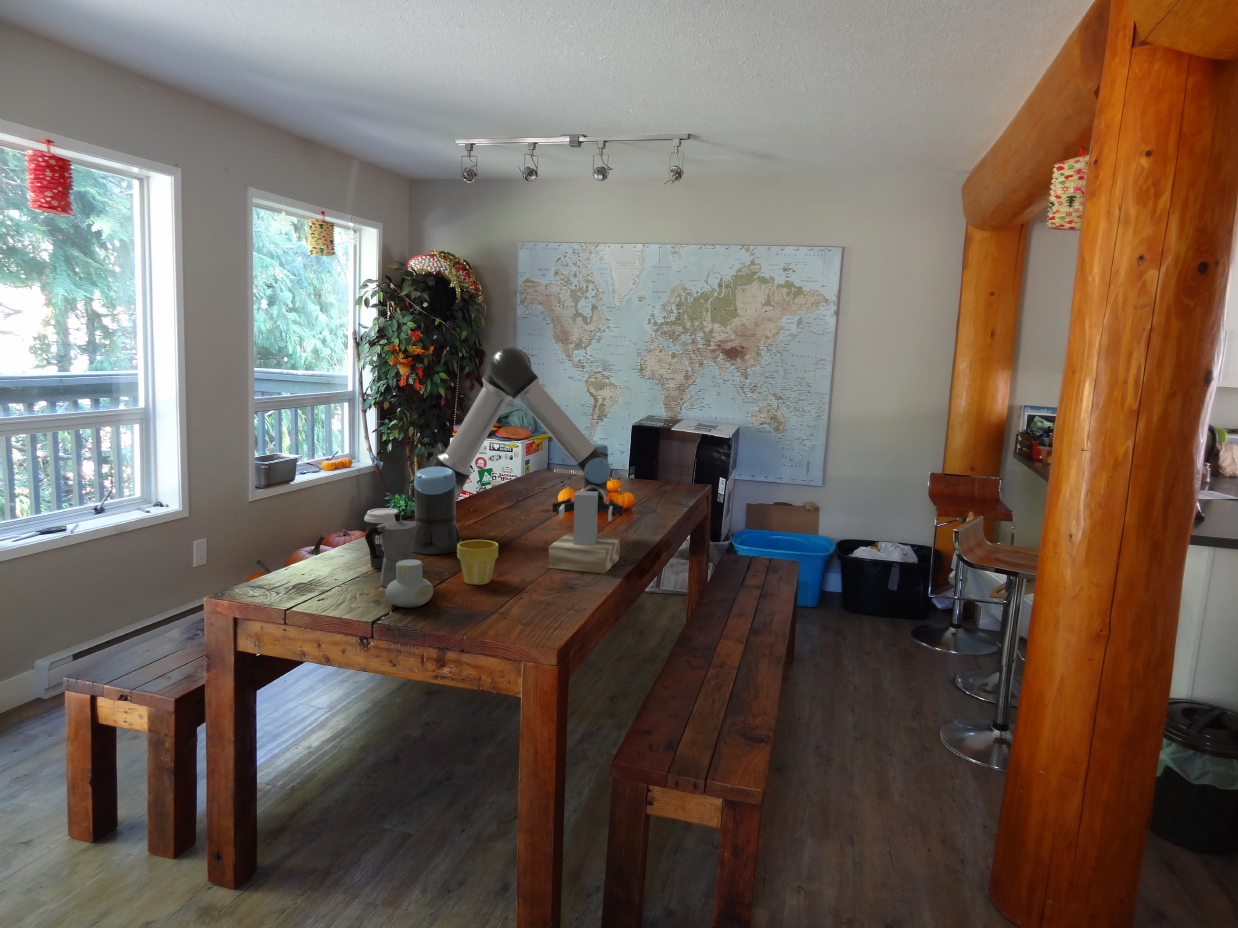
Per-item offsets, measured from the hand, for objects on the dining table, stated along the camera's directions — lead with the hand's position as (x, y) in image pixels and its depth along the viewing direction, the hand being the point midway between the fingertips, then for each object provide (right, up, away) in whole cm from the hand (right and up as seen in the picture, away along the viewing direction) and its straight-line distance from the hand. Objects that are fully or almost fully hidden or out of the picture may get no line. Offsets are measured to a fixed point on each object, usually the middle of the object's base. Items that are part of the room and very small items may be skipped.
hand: (584, 515), depth 216 cm
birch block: (0, -14, +5) cm, 15 cm away
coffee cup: (-54, -14, -3) cm, 56 cm away
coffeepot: (-47, -16, -19) cm, 53 cm away
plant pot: (-27, -16, -14) cm, 34 cm away
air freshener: (-39, -19, -33) cm, 55 cm away
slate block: (0, -8, +5) cm, 9 cm away
